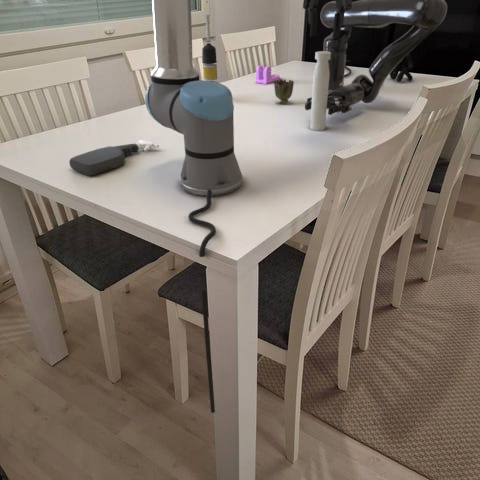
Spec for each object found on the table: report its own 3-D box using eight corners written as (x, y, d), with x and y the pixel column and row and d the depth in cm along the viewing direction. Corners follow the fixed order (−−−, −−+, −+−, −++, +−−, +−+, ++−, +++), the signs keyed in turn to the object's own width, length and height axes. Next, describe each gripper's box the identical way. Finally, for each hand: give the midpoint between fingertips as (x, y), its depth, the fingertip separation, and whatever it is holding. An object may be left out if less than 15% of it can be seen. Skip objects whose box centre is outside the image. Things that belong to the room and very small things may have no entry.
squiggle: (400, 92, 202) (376, 71, 205) (417, 76, 202) (392, 56, 205) (405, 81, 191) (380, 59, 194) (423, 64, 191) (397, 42, 194)
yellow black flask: (220, 99, 177) (217, 15, 161) (206, 100, 176) (202, 16, 160) (215, 96, 182) (212, 14, 166) (202, 97, 180) (197, 14, 164)
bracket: (266, 84, 198) (266, 67, 194) (256, 82, 201) (256, 66, 197) (281, 78, 207) (282, 62, 203) (271, 77, 210) (272, 61, 206)
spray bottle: (67, 168, 120) (139, 144, 136) (91, 178, 114) (163, 151, 130) (65, 157, 118) (137, 134, 134) (89, 167, 112) (162, 142, 128)
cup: (270, 104, 170) (270, 82, 166) (278, 99, 176) (278, 78, 171) (288, 106, 167) (289, 84, 163) (295, 101, 173) (296, 80, 168)
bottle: (308, 125, 148) (313, 52, 136) (323, 125, 148) (329, 52, 136) (311, 130, 143) (316, 55, 131) (326, 130, 144) (333, 55, 132)
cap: (313, 57, 136) (314, 51, 135) (328, 57, 136) (328, 50, 135) (316, 60, 132) (317, 54, 131) (331, 60, 132) (332, 53, 132)
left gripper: (292, -56, 122) (288, 36, 134) (360, -59, 111) (349, 41, 123) (306, -56, 127) (301, 33, 139) (372, -58, 116) (361, 37, 128)
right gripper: (325, 84, 154) (299, 93, 143) (363, 90, 146) (338, 100, 136) (323, 106, 158) (298, 117, 147) (360, 113, 150) (336, 125, 140)
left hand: (324, 36), depth 131 cm, fingers open, 7 cm apart
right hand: (317, 109), depth 141 cm, fingers open, 8 cm apart
